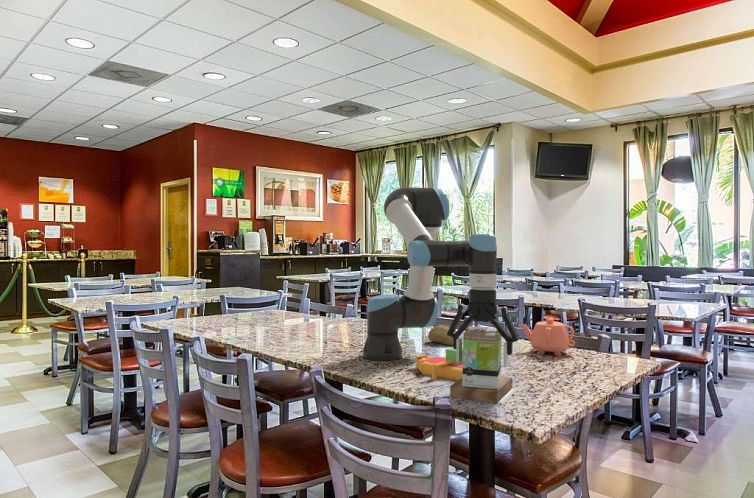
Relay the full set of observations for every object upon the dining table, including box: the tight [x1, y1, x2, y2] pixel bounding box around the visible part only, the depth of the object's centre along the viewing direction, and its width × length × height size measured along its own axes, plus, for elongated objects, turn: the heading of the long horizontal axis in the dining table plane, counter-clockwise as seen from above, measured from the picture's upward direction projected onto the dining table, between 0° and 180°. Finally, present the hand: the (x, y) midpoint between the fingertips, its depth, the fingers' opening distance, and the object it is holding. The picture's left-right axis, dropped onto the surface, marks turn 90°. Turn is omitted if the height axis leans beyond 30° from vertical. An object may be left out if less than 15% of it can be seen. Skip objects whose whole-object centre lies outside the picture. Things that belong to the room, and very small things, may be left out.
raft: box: [415, 346, 463, 381], centre depth 173 cm, size 23×30×9 cm
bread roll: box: [427, 324, 457, 347], centre depth 228 cm, size 10×15×8 cm, turn 45°
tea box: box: [462, 325, 502, 389], centre depth 150 cm, size 15×10×15 cm, turn 165°
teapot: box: [521, 317, 576, 357], centre depth 210 cm, size 16×17×14 cm
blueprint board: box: [438, 386, 518, 405], centre depth 150 cm, size 18×16×1 cm
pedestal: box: [449, 376, 513, 404], centre depth 150 cm, size 13×17×3 cm
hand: (482, 363), depth 150 cm, fingers open, 13 cm apart
